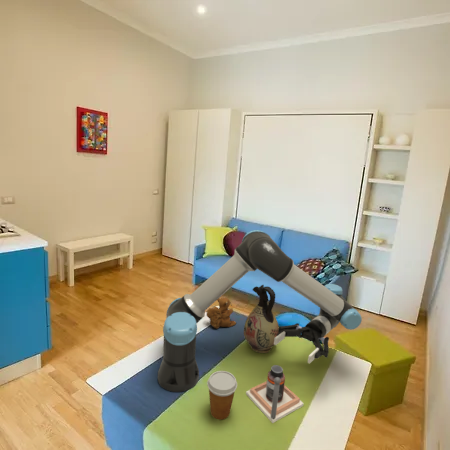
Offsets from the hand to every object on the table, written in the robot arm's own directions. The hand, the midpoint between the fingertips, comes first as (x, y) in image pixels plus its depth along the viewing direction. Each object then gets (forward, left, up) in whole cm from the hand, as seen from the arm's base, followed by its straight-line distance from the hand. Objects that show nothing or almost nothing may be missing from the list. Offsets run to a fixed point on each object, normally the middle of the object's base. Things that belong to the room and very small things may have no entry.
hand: (291, 350), depth 108 cm
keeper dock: (-7, -1, -16) cm, 18 cm away
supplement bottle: (-7, -1, -15) cm, 17 cm away
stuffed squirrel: (+2, +48, -16) cm, 51 cm away
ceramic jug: (+8, +24, -16) cm, 30 cm away
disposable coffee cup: (-26, +4, -16) cm, 31 cm away
